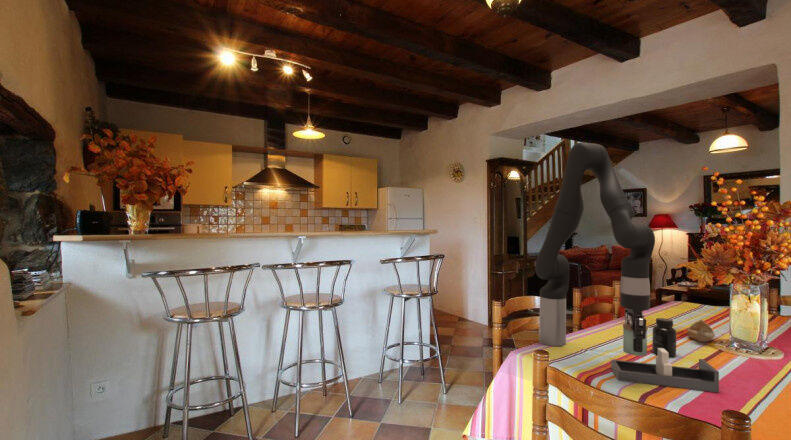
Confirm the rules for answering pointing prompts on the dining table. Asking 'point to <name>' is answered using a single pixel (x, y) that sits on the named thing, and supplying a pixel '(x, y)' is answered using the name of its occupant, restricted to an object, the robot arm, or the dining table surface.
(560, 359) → the dining table surface
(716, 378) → the tray
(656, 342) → the supplement bottle
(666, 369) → the block
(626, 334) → the jar
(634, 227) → the robot arm
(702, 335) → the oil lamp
